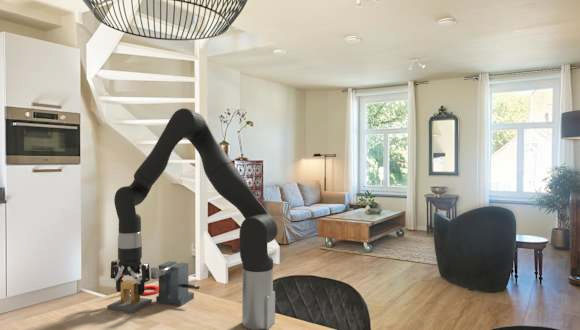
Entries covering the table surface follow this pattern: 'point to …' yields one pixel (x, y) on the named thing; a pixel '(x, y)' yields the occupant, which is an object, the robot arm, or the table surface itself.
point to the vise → (173, 283)
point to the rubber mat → (129, 305)
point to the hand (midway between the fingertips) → (130, 292)
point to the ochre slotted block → (125, 292)
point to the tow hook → (150, 288)
